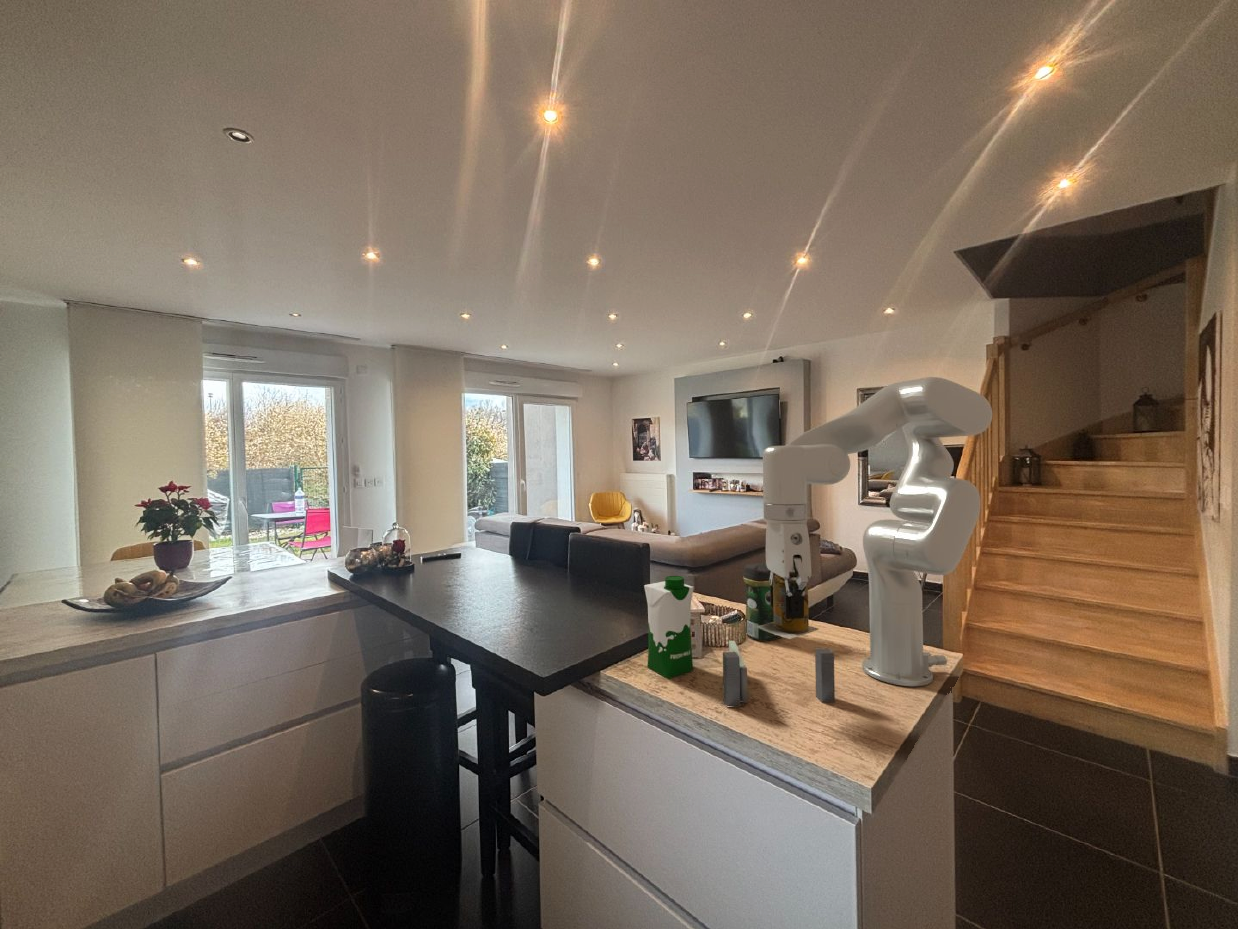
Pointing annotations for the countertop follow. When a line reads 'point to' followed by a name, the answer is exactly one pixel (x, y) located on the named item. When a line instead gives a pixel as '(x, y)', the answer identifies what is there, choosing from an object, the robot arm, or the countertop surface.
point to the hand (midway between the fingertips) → (786, 611)
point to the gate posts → (822, 669)
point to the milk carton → (669, 626)
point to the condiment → (781, 623)
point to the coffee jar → (758, 601)
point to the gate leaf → (743, 672)
